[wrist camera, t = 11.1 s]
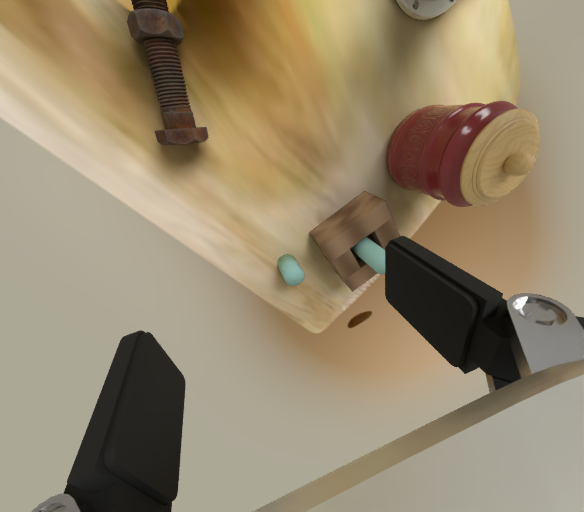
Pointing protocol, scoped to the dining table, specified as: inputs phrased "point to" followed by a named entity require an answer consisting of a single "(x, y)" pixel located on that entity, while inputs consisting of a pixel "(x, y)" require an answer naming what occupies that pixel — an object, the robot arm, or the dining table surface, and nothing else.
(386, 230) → the socket block
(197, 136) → the bolt
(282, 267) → the short dowel
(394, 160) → the canister
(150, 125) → the dining table surface
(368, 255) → the tall dowel
